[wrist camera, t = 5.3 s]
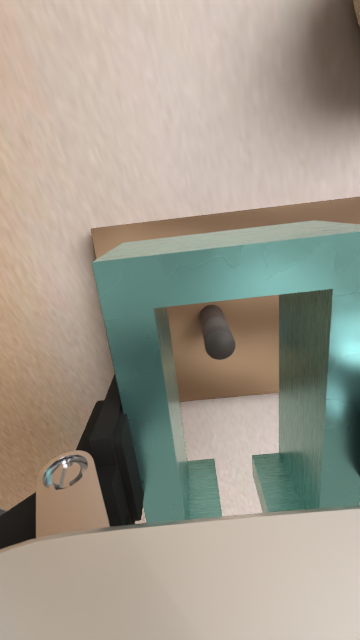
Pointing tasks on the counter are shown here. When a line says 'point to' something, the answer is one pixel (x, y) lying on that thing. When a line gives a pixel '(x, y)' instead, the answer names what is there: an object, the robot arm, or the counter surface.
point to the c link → (294, 359)
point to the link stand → (226, 305)
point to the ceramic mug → (357, 10)
